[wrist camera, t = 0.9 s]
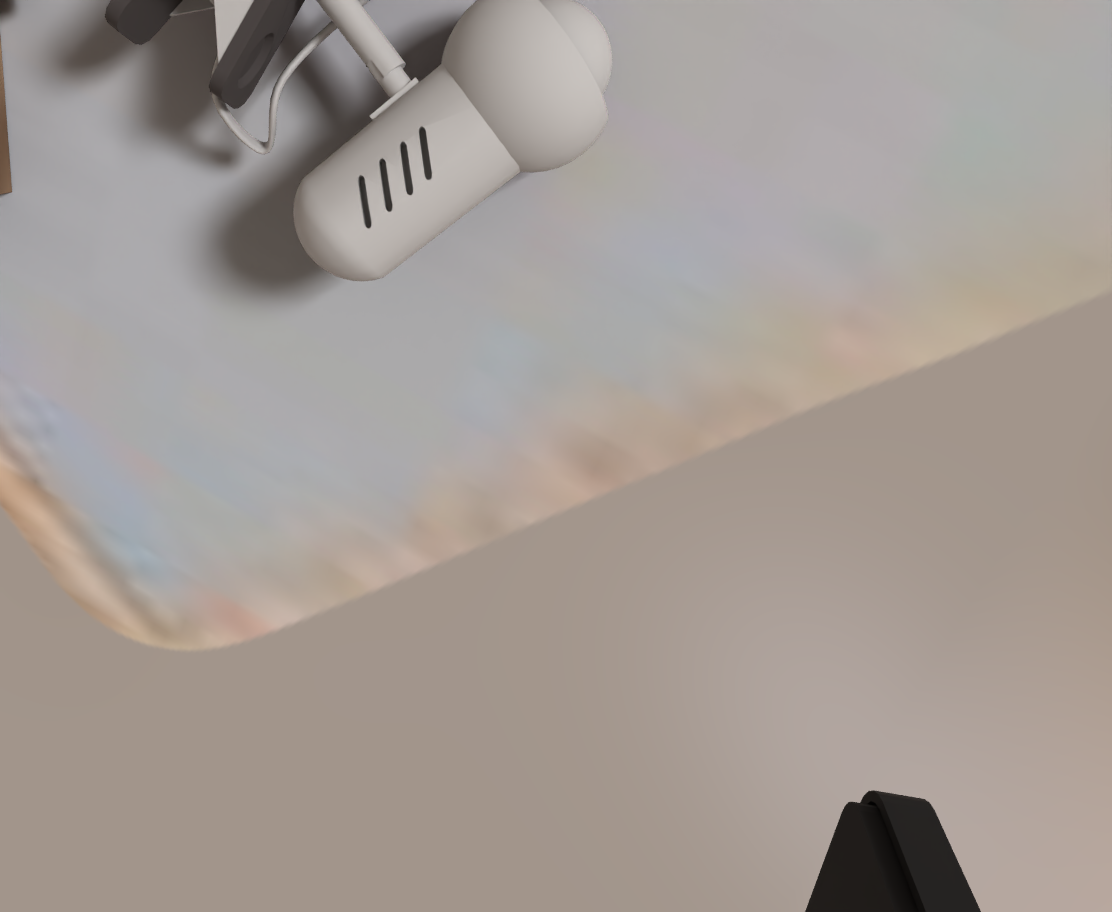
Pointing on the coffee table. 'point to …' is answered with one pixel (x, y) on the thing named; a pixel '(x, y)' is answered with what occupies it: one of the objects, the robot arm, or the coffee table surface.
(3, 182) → the charging dock
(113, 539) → the coffee table surface
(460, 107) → the clip-on lamp
